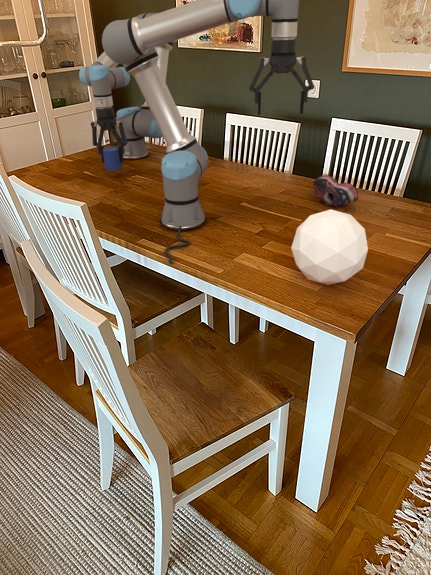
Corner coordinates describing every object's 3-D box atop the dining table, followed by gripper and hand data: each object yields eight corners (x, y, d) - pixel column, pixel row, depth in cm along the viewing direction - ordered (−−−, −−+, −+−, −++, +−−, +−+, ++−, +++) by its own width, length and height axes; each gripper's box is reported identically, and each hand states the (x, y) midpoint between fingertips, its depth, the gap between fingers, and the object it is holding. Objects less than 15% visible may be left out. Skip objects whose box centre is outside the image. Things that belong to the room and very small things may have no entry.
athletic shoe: (322, 174, 175) (297, 182, 171) (360, 169, 156) (333, 177, 152) (327, 202, 178) (303, 210, 174) (365, 200, 158) (339, 209, 155)
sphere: (335, 308, 121) (353, 282, 102) (274, 269, 126) (281, 237, 107) (370, 256, 126) (393, 222, 107) (310, 220, 131) (322, 182, 112)
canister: (103, 167, 199) (100, 148, 194) (119, 164, 202) (116, 145, 197) (108, 172, 194) (105, 152, 189) (124, 168, 197) (121, 149, 192)
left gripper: (77, 109, 182) (88, 164, 194) (125, 108, 180) (133, 164, 192) (83, 105, 188) (93, 159, 200) (130, 104, 186) (137, 158, 198)
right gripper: (324, 36, 134) (317, 110, 146) (242, 39, 136) (241, 111, 147) (328, 38, 128) (320, 115, 140) (242, 40, 130) (241, 116, 141)
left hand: (113, 161), depth 196 cm, fingers closed on canister, 7 cm apart
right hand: (280, 113), depth 143 cm, fingers open, 13 cm apart
